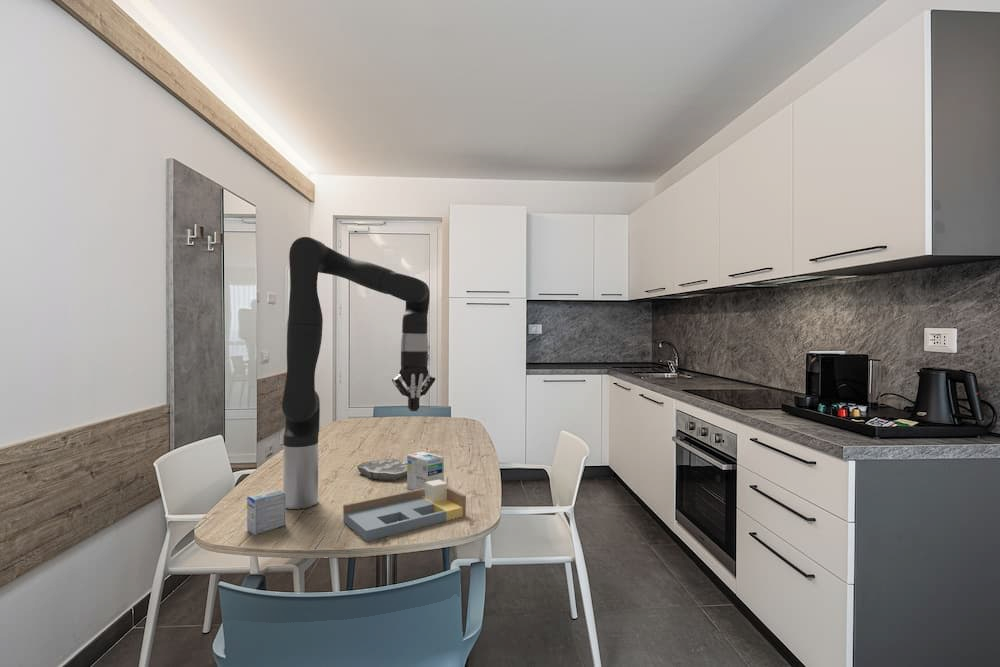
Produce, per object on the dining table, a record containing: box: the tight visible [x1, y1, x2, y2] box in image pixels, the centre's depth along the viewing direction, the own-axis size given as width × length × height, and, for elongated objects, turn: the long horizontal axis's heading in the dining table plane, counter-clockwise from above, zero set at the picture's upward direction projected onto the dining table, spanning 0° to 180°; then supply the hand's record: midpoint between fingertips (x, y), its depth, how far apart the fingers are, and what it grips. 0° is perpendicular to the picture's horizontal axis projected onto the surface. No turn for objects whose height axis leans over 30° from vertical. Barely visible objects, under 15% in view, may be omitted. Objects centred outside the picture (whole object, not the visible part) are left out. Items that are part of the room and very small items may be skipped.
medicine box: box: [246, 488, 287, 536], centre depth 129 cm, size 8×4×9 cm, turn 141°
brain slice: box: [356, 458, 407, 481], centre depth 177 cm, size 20×17×3 cm
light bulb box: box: [406, 451, 445, 491], centre depth 160 cm, size 11×7×11 cm, turn 47°
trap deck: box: [342, 486, 467, 542], centre depth 136 cm, size 15×28×6 cm, turn 127°
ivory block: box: [425, 479, 448, 502], centre depth 144 cm, size 4×4×4 cm
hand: (413, 410), depth 145 cm, fingers closed
